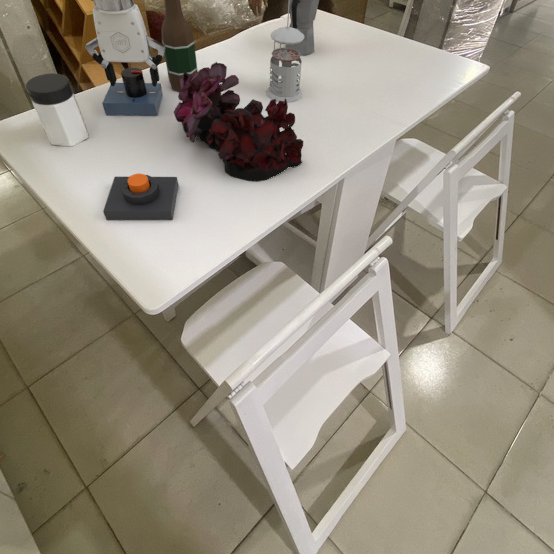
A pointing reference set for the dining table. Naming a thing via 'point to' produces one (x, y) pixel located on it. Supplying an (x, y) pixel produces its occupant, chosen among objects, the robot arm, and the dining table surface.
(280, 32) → the french press
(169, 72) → the beer bottle
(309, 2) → the coffeepot
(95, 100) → the dining table surface
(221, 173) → the dining table surface
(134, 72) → the temp dial
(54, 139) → the jar
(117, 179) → the switch block
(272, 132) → the flower arrangement
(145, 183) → the button
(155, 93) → the dial base
